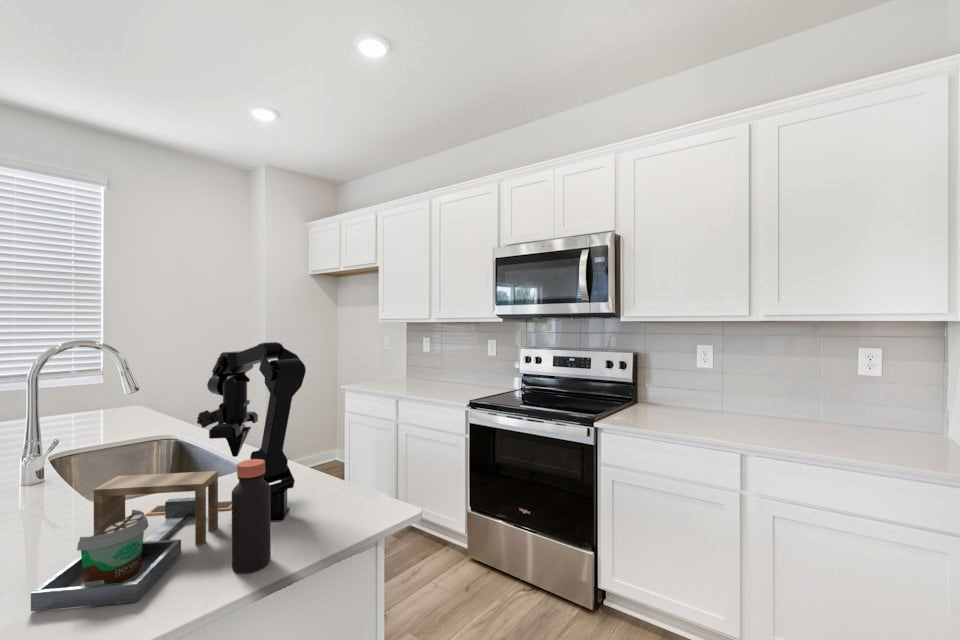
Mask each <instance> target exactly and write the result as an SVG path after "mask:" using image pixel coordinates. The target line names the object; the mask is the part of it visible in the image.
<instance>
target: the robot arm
mask: <svg viewBox="0 0 960 640" xmlns="http://www.w3.org/2000/svg"><path fill="white" fill-rule="evenodd" d="M269 360H270V361H269ZM259 363H260V364H259ZM257 364H259V368H258V370H259V371H260V373H261V374H262V376H263V378H264V384H265V386H266V389H267V390H268V392H269V400H268V405H267V410H266V415H265V422H264V428H263V434H262V438H261V439H262V440H261V445H260V449H258V450H254V451H252V452H251V453H250V459H249V460H251V459H262V460H265V475H264V476H263V479H264V480H265V481H266V482H268V483H269V485H270V512H271V522H278V521H279V522H280V521H283V520H285V518H286V517H287V515H288V512H289V511H290V507H288V490H289V489H294V486H295V478H294V476H293V474H292V472H291V469H290V467H289V465H288V458H287V456H286V454H285V453H284V446H285V439H286V434H287V429H288V422H289V417H290V414H291V413H290V412H291V405H292V401H293V397H294V395H296V393H297V392H298V391H299V390H300V389H301V388H302V385H303V383H304V379H305V375H306V365H305V364H304V362H303V361H302V360H301V359H300V357H299V356H298V355H297V354H295V353H294V352H292V351H290V350H288V349H286V348H285V347H284V346H283V344H281V342H278V341H273V342H272V341H271V342H270V341H269V342H261V343H259V344H257V345H254V346H252V347H250V348H246V349H242V350H240V351H239V350H238V351H237V350H236V351H223V352H221V353H220V355H219V356H218V357H217V361H216V362H215V364H214V367H213V368H212V370H211V372H212V374H211V375H212V376H211V377H210V378H209V379H208V382H207V384H206V385H207V389H208V391H209V392H210V393H211V394H215V395H218V396H222V402H221V403H220V404H219V405H218V408H216V409H213V410H212V411H209V410H207V409H206V410H204V411H200V412H199V413H198V417H197V418H196V419H197V421H196V424H199V425H200V426H201V428H202V429H204V428H207V427H208V426H210V425H213V424H216V423H217V424H216V425H214V426H212V427H211V428H210V429H209V431H208V438H209V439H211V440H213V439H225V440H226V441H227V444H228V447H229V450H230V454H231V456H232V457H234V458H235V457H238V456H239V454H240V453H241V449H242V448H243V445H244V443H245V440H246V439H247V437H248V434H249V432H250V430H251V428H252V427H251V426H246V424H245V423H247V422H252V424H256V423H257V422H258V421H259V420H258V419H259V417H258V416H259V415H258V413H256V411H248V406H249V404H250V399H248V383H249V382H250V381H251V379H250V378H249V376H248V375H246V373H247V372H249V371H251V370H252V369H253V368H254V365H257ZM278 481H280V482H278ZM275 482H276V483H275ZM271 483H273V484H271Z"/></svg>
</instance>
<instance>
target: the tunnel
mask: <svg viewBox="0 0 960 640" xmlns="http://www.w3.org/2000/svg"><path fill="white" fill-rule="evenodd" d="M185 492H194V496H195V517H194V518H195V519H194V520H195V521H194V523H195V524H194V525H195V528H194V529H195V533H194V534H195V539H194V540H195V542H194V543H195V544H194V545H195V546H200V545H204V544H205V543H206V542H207V532H211V531H216V530H217V529H218V528H219V511H218V502H219V471H218V470H212V471H190V472H189V471H188V472H173V473H169V472H168V473H156V474H155V473H154V474H136V475H135V474H133V475H117V476H115V477H113V478H112V479H110V480H108V481H106V482H105V483H103V484H101V485H100V486H98V487H97V486H96V488H94V489H93V535H95V534H97V533H98V532H100V531H101V530H102V529H104V528H105V527H107V526H108V525H110V524H113V523H116V522H119V521H121V520H123V519H125V518H126V496H131V495H133V496H134V495H150V494H151V495H153V494H170V493H185ZM207 511H208V512H207ZM207 515H208V516H207ZM207 523H208V524H207ZM207 525H208V529H207ZM207 530H208V531H207Z"/></svg>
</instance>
